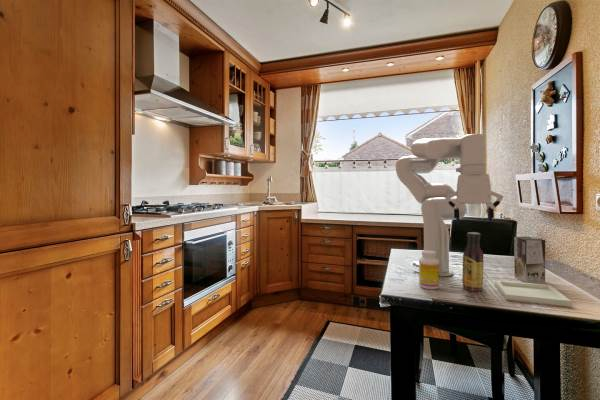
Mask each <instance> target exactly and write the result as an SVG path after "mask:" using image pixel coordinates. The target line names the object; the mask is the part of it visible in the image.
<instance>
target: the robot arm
mask: <svg viewBox="0 0 600 400" xmlns="http://www.w3.org/2000/svg"><path fill="white" fill-rule="evenodd" d="M486 150H487V149H486V136H485V134H482V133H470V134H465V135H463V136H461V137H459V138H458V137H442V138H441V137H440V138H438V137H435V138H433V137H432V138H420V139H417V140H415V141H414V142H413V143H412V145H411V147H410V151H411V154H412V155H407V156H402V157H400V158H399V159H397V160H396V163H395V171H396V176H397V177H398V179H399V181H400V182H401V183H402V184H403V186H405V187H406V188H407V189H408V191H409V192H410V193H411V195H412V196H413V198H414V199H415V201H417V202H418V203H419V204H421V205H420V206H421V207H420V210H421V215H422V221H423V245H424V246H423V251H424V250H430V251H435V252H436V256H435V258H436V259H438V261H439V277H451V276H453V275H454V270H453V269H451V268H450V231H449V228H448V226H447V224H446V223H445V221H454V220H455V221H460V220H461V219H464V217H465V216H466V214H467V210H468V209H467V205H468V204H470V205H471V204H472V205H473V204H478V205H479V204H481V205H482V204H485V205H486V206H487V207H488V208H487V221H489V222H492V221H493V219H494V217H495V216H494V215H495V212H494V210H495V209H496V208H497V207H498V206H499V205H500V204H501V202H502V200H503V199H504V196H503V194H500V193H497V192H496V191H495V192H494V191H493V190H492V187H491V186H492V184H491V179H490V175H489V174H488V173H486V171H487V167H486V163H487V162H486V161H487V160H486V155H487V154H486ZM450 159H451V160H454V159H455V160H460V161H459V162H460V166H459V167H456V168H455V172H456V173H460V174H458V176H457V180H456V181H457V183H456V190H454V189H453V187H452V186H450V185H448V184H447V183H442V182H441V183H431V182H428V181H427V180H426V179H425V177H423V176H422V175H420V174H430V173H432V172H433V171H434V169H435V168H436V166H437V165H438V164H439V162H440V161H441V160H450ZM492 197H495V198H496V199H495V201H493V202H492ZM466 204H467V205H466ZM412 266H414V267H415V268H419V261H415V260H414V261H412Z"/></svg>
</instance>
